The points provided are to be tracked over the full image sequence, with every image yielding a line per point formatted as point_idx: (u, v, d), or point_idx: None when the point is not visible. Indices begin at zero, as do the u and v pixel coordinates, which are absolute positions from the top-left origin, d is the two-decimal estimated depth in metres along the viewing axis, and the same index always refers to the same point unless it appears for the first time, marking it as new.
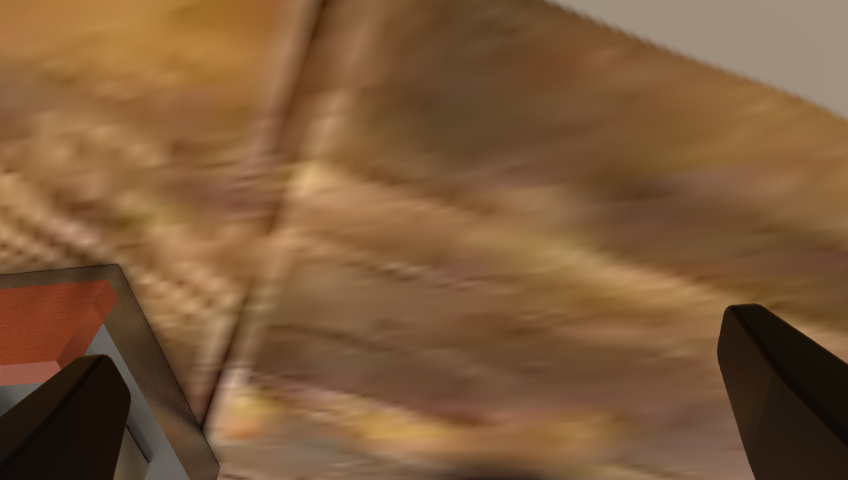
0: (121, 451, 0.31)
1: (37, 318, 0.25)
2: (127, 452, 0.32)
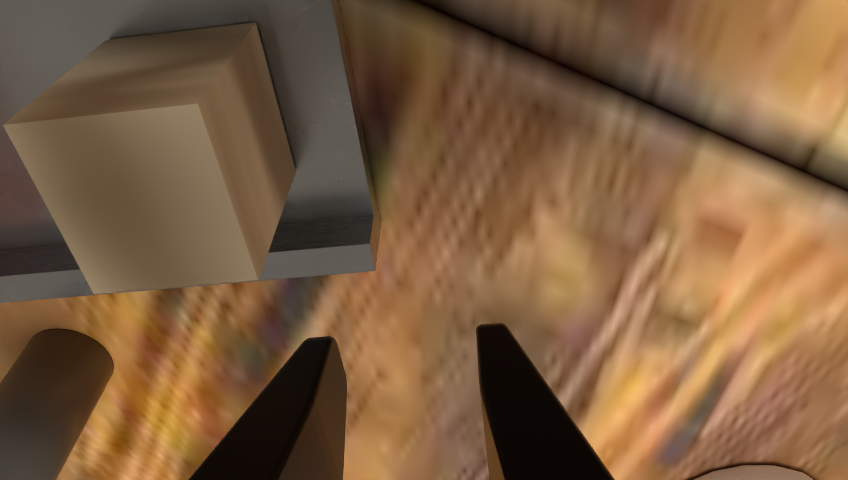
0: (141, 48, 0.16)
1: None
2: (163, 42, 0.16)
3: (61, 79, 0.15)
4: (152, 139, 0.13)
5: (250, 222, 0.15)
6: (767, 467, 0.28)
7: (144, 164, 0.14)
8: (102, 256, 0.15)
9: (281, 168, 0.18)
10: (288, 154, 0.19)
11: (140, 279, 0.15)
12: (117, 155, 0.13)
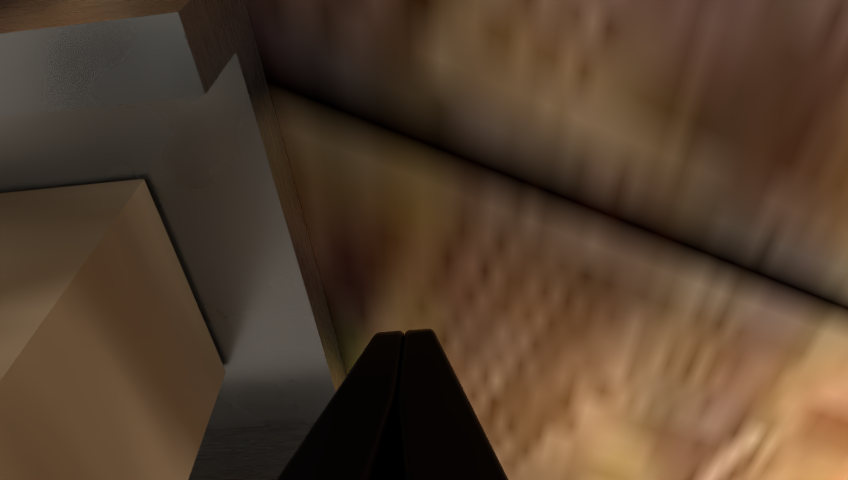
0: None
1: None
2: None
3: None
4: None
5: None
6: None
7: None
8: None
9: (194, 391, 0.12)
10: (210, 355, 0.12)
11: None
12: None
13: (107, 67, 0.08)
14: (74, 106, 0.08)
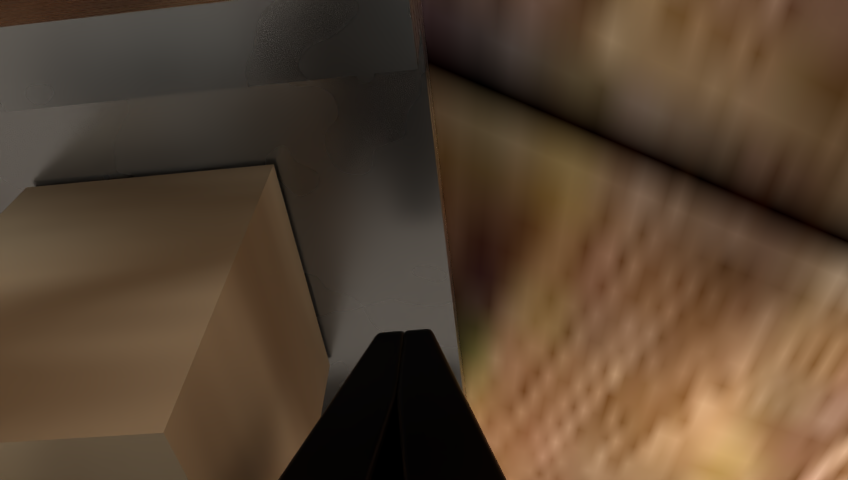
0: (78, 217, 0.09)
1: None
2: (117, 203, 0.10)
3: None
4: None
5: None
6: None
7: None
8: None
9: (311, 384, 0.11)
10: (320, 347, 0.12)
11: None
12: None
13: (320, 39, 0.08)
14: (276, 81, 0.08)
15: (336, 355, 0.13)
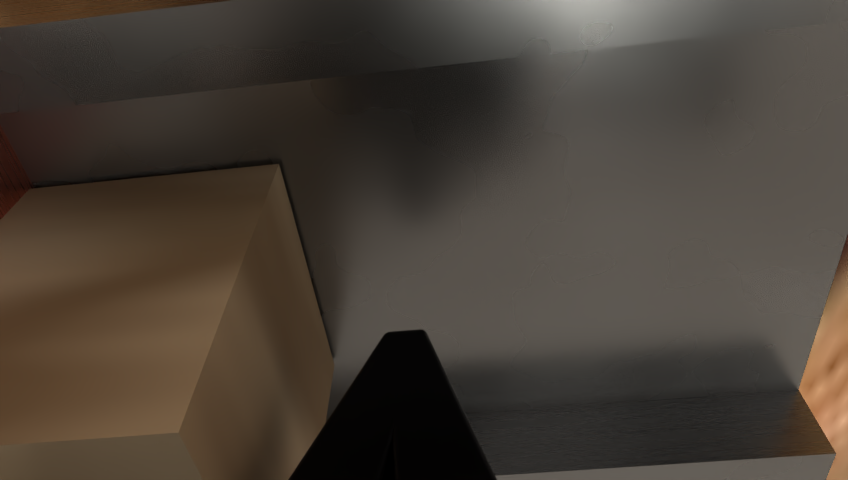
0: (83, 218, 0.09)
1: None
2: (122, 204, 0.10)
3: None
4: None
5: None
6: None
7: None
8: None
9: (317, 383, 0.11)
10: (325, 347, 0.12)
11: None
12: None
13: None
14: None
15: (690, 327, 0.12)
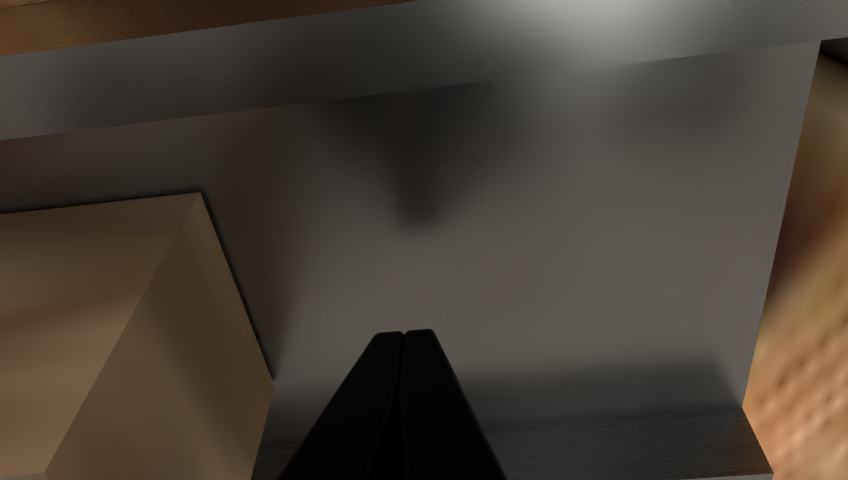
0: (3, 249, 0.10)
1: None
2: (42, 235, 0.10)
3: None
4: None
5: None
6: None
7: None
8: None
9: (249, 407, 0.11)
10: (261, 370, 0.12)
11: None
12: None
13: (806, 0, 0.07)
14: (739, 47, 0.07)
15: (626, 347, 0.12)
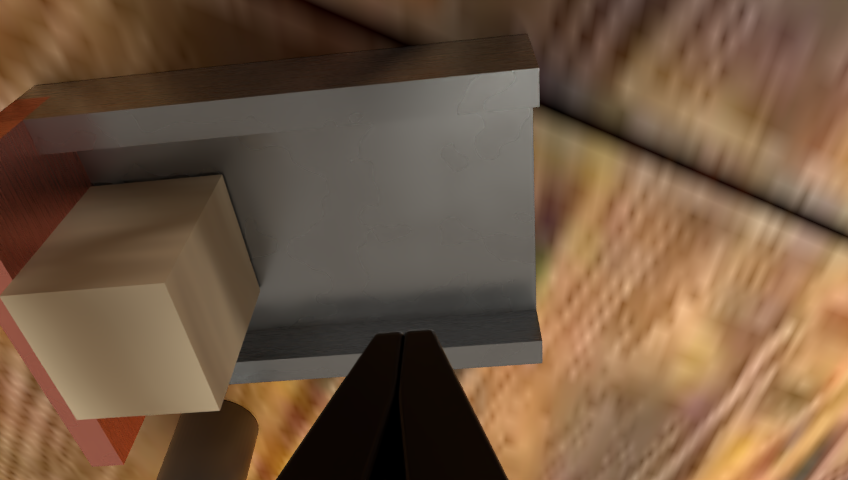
0: (120, 201, 0.19)
1: None
2: (140, 194, 0.19)
3: (49, 238, 0.17)
4: (127, 307, 0.16)
5: (213, 362, 0.17)
6: None
7: (119, 326, 0.16)
8: (84, 392, 0.17)
9: (245, 295, 0.20)
10: (252, 278, 0.21)
11: (117, 409, 0.18)
12: (96, 319, 0.16)
13: (495, 93, 0.16)
14: (471, 111, 0.16)
15: (462, 269, 0.21)
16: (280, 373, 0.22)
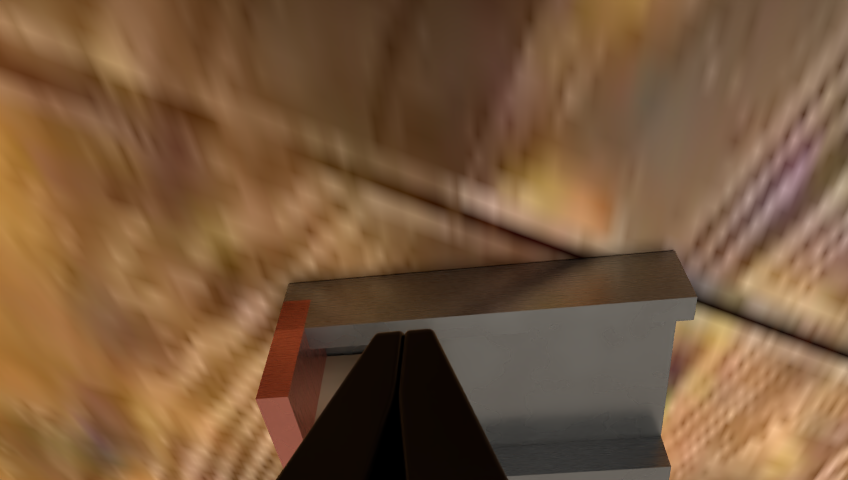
0: None
1: None
2: None
3: (318, 412, 0.23)
4: None
5: None
6: None
7: None
8: None
9: None
10: None
11: None
12: None
13: (662, 311, 0.22)
14: (641, 322, 0.22)
15: (606, 409, 0.27)
16: None
